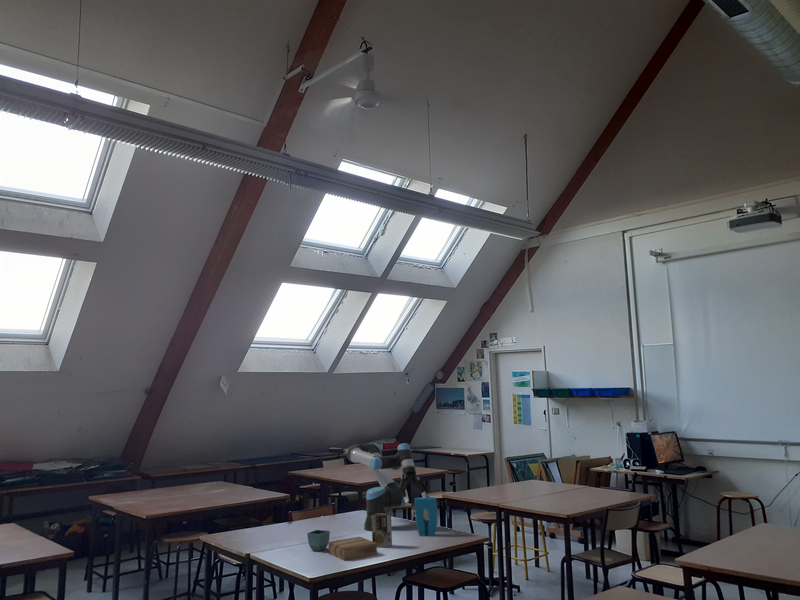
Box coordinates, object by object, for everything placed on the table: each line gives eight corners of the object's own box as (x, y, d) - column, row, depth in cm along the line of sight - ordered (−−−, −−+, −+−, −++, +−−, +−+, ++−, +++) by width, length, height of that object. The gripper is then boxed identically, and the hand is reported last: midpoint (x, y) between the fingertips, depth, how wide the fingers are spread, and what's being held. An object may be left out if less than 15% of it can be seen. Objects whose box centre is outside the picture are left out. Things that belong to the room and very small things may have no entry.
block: (437, 533, 335) (436, 497, 339) (437, 535, 330) (435, 498, 334) (416, 534, 336) (415, 497, 340) (416, 536, 331) (414, 499, 335)
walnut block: (328, 554, 299) (328, 541, 300) (360, 548, 308) (360, 536, 309) (344, 561, 284) (343, 548, 285) (376, 555, 293) (376, 542, 294)
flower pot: (320, 552, 301) (320, 534, 302) (306, 551, 305) (306, 533, 307) (330, 548, 308) (330, 530, 310) (317, 547, 313) (317, 529, 314)
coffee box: (392, 545, 312) (391, 513, 315) (388, 548, 306) (387, 515, 309) (376, 544, 315) (375, 512, 318) (371, 547, 309) (371, 514, 312)
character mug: (431, 528, 350) (430, 505, 352) (430, 531, 343) (429, 507, 345) (412, 529, 351) (412, 506, 353) (412, 531, 344) (411, 508, 346)
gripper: (395, 464, 344) (402, 499, 331) (428, 466, 358) (437, 500, 344) (388, 469, 348) (395, 504, 335) (421, 472, 362) (429, 506, 349)
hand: (416, 502), depth 340 cm, fingers open, 13 cm apart
